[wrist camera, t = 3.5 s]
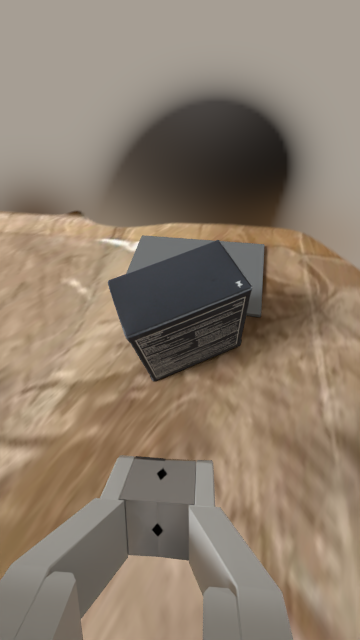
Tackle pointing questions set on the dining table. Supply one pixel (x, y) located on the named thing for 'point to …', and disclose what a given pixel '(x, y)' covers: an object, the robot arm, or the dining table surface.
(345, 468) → the dining table surface
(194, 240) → the slate tile
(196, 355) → the small box
